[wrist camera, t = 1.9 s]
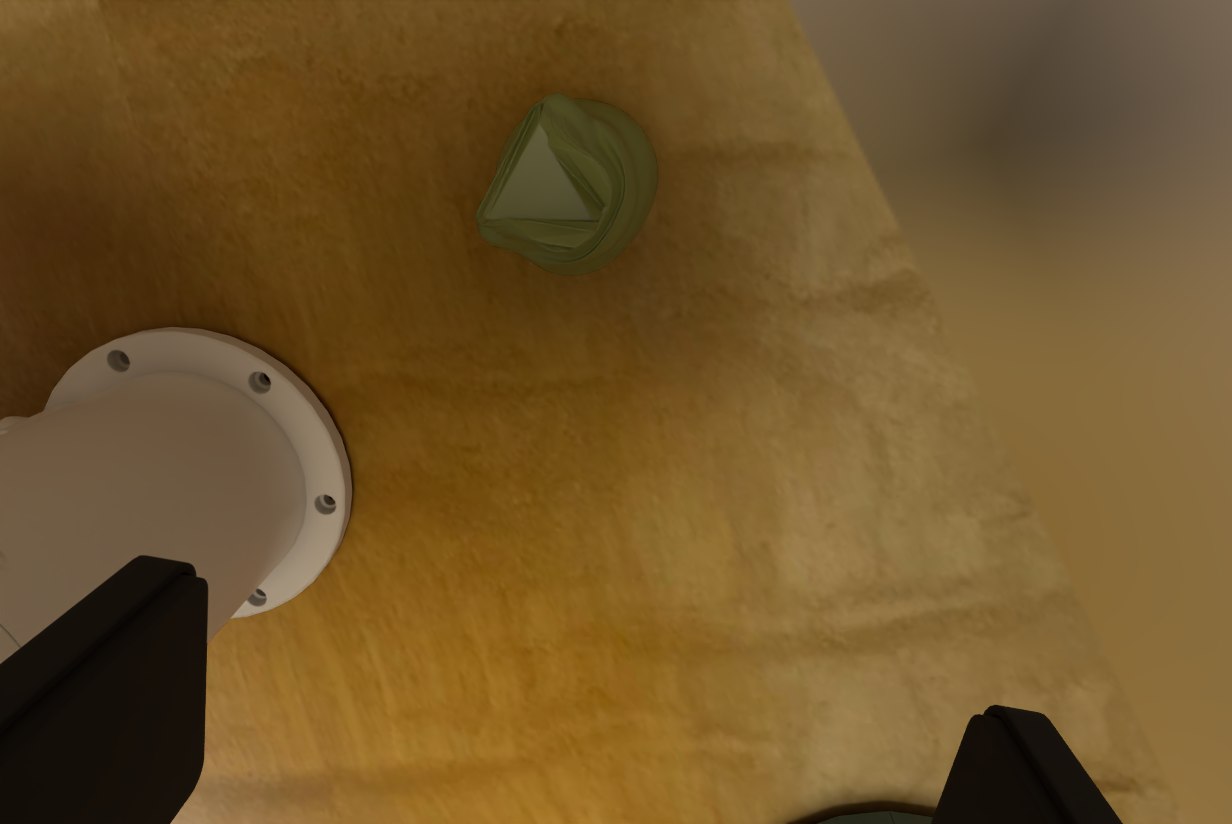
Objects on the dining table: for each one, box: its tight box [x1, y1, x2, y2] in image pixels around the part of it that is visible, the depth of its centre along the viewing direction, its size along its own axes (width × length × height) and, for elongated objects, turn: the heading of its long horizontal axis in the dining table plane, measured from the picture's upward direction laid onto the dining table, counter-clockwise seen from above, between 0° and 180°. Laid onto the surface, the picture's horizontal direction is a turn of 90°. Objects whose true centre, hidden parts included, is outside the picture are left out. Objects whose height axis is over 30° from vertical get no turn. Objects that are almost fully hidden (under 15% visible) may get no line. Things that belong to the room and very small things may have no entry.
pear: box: [475, 93, 658, 276], centre depth 25 cm, size 6×5×10 cm
